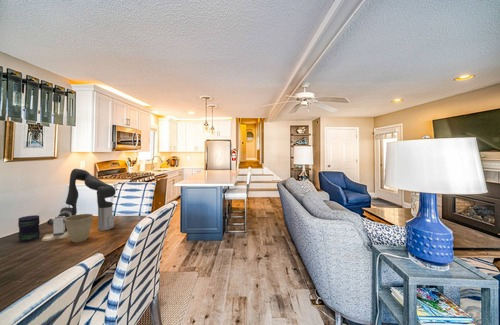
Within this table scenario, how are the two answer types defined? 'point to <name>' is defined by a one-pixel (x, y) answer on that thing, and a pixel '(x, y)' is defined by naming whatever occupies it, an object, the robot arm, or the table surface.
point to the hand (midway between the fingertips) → (59, 223)
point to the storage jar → (28, 228)
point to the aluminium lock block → (59, 226)
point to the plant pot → (79, 226)
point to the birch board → (51, 237)
